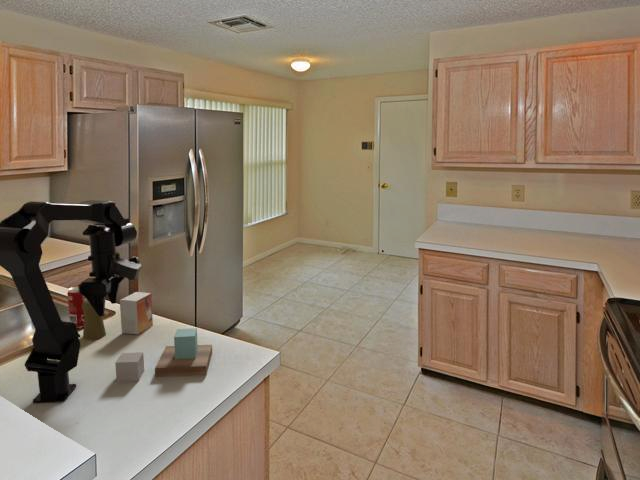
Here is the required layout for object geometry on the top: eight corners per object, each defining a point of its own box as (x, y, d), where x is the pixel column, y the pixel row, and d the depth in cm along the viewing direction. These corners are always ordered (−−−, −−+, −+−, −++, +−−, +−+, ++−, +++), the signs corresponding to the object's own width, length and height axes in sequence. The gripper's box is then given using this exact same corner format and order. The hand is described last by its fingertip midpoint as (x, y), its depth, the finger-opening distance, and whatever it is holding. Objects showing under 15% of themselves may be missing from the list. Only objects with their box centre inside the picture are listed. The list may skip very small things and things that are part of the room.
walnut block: (206, 377, 107) (206, 366, 106) (155, 379, 105) (154, 367, 105) (212, 355, 119) (212, 344, 118) (166, 356, 117) (166, 346, 116)
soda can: (85, 321, 138) (82, 284, 136) (92, 325, 135) (89, 288, 132) (67, 325, 134) (64, 288, 132) (74, 330, 131) (71, 292, 128)
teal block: (195, 358, 110) (195, 336, 109) (175, 359, 109) (174, 337, 108) (197, 349, 115) (196, 328, 114) (177, 350, 114) (176, 329, 113)
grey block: (138, 381, 103) (137, 361, 102) (116, 382, 103) (115, 362, 102) (144, 370, 108) (143, 352, 107) (123, 371, 108) (121, 353, 107)
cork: (83, 333, 129) (80, 297, 127) (106, 330, 131) (103, 295, 129) (82, 341, 124) (78, 304, 121) (106, 338, 126) (103, 301, 124)
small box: (138, 335, 128) (136, 301, 126) (121, 333, 129) (118, 299, 127) (153, 325, 136) (151, 292, 134) (137, 323, 137) (135, 291, 135)
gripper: (125, 259, 101) (130, 322, 105) (146, 242, 120) (149, 297, 123) (74, 259, 100) (80, 323, 103) (103, 242, 118) (107, 297, 121)
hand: (107, 309), depth 113 cm, fingers open, 9 cm apart
